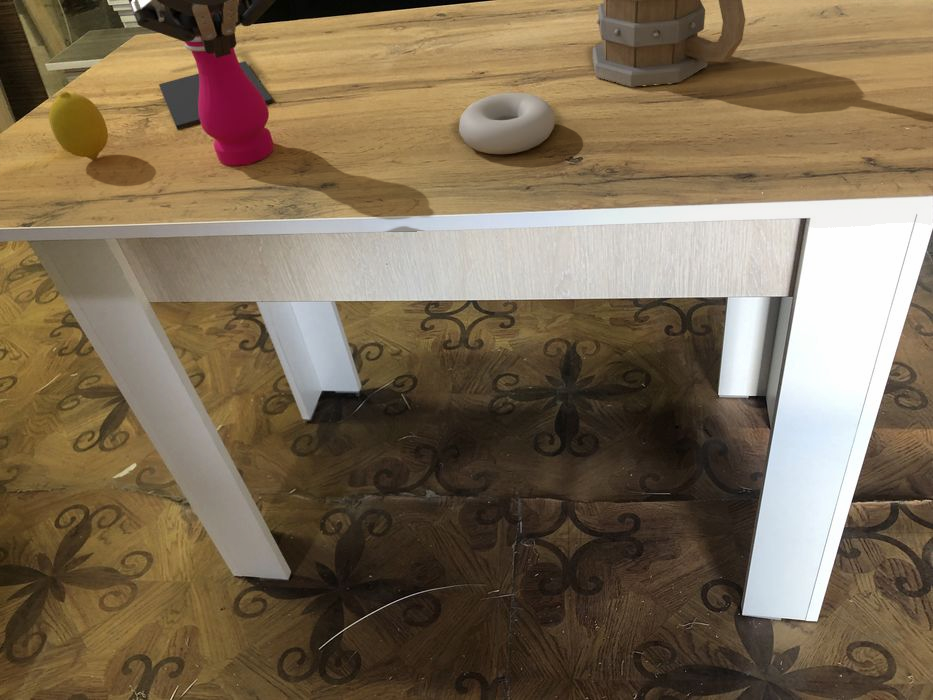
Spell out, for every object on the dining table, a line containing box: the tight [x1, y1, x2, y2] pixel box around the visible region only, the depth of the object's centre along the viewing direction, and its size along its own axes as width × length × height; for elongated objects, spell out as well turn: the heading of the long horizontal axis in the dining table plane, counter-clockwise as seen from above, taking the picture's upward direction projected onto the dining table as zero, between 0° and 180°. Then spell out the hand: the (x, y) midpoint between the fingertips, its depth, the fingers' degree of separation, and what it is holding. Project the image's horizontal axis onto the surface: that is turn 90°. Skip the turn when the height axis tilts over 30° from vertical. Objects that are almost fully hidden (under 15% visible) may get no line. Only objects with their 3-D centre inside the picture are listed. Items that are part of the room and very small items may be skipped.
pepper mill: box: [174, 13, 275, 167], centre depth 79 cm, size 7×7×20 cm
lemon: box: [48, 91, 109, 161], centre depth 87 cm, size 6×6×8 cm
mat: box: [158, 60, 274, 130], centre depth 100 cm, size 12×16×1 cm
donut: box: [458, 92, 556, 155], centre depth 80 cm, size 10×4×10 cm
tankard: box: [592, 0, 746, 88], centre depth 84 cm, size 20×13×15 cm, turn 42°
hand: (219, 47), depth 71 cm, fingers closed
